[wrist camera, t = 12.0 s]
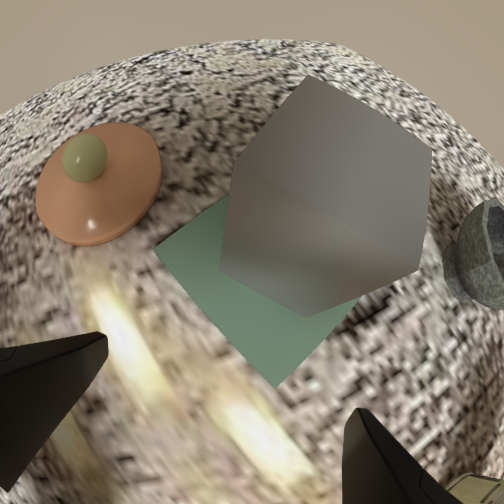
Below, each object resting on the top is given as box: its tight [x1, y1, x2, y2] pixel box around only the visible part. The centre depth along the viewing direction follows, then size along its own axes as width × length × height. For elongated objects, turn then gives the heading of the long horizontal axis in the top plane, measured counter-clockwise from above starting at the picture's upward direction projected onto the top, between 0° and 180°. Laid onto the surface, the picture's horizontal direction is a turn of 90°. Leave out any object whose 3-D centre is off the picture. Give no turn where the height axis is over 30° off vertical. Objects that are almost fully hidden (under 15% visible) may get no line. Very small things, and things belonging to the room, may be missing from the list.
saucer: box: [35, 122, 162, 247], centre depth 17 cm, size 11×11×5 cm
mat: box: [153, 194, 362, 388], centre depth 19 cm, size 13×12×1 cm
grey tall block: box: [219, 75, 432, 318], centre depth 14 cm, size 6×6×11 cm
